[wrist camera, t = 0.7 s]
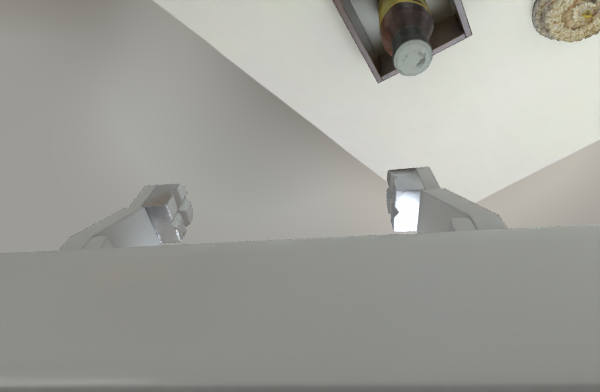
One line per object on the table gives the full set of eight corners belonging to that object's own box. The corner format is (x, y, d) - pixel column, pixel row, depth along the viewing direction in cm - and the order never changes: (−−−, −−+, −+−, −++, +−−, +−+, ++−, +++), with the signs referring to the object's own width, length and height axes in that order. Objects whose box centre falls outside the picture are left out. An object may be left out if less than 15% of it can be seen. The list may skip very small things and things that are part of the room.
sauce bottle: (428, 7, 51) (456, 71, 37) (388, 32, 54) (401, 99, 40) (409, -36, 47) (432, 17, 34) (368, -7, 50) (374, 53, 37)
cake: (602, 27, 51) (620, 46, 47) (525, 43, 54) (536, 61, 50) (630, -50, 44) (654, -35, 40) (539, -28, 46) (553, -11, 43)
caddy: (428, -82, 44) (438, -72, 39) (461, 16, 51) (472, 35, 46) (334, -16, 50) (332, 0, 45) (375, 62, 58) (378, 83, 53)
